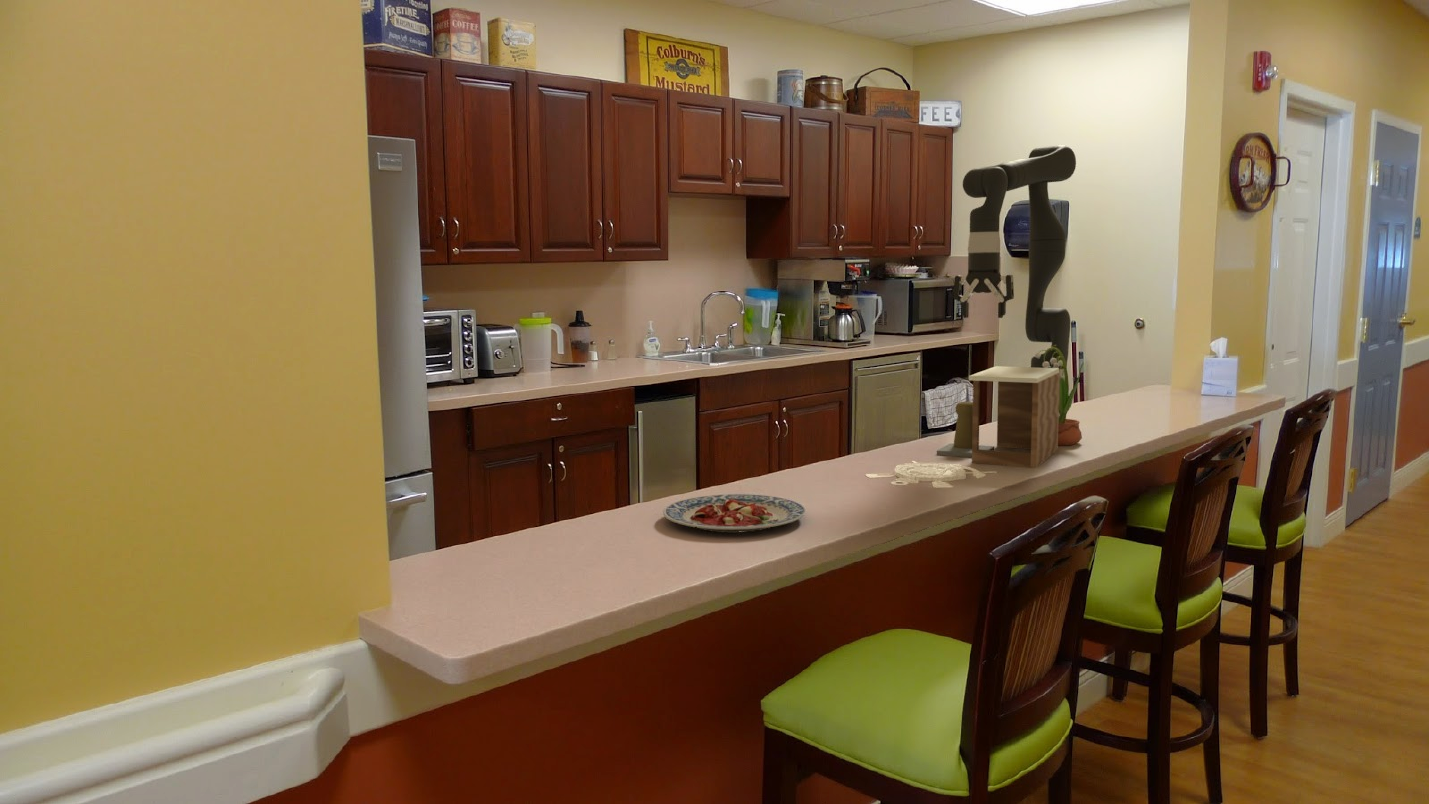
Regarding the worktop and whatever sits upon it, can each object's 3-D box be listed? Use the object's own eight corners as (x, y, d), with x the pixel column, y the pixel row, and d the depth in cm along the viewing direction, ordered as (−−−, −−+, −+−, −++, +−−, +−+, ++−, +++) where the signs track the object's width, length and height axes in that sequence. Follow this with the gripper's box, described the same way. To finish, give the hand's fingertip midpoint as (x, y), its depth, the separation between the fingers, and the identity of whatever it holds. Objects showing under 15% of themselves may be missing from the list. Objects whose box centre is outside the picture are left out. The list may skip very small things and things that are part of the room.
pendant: (1004, 472, 226) (1004, 466, 226) (940, 494, 206) (940, 487, 205) (919, 461, 240) (919, 455, 240) (852, 481, 220) (852, 474, 220)
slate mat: (950, 447, 255) (950, 443, 255) (994, 450, 250) (994, 446, 249) (936, 454, 245) (936, 450, 245) (982, 458, 240) (982, 453, 240)
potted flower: (1032, 445, 255) (1034, 345, 252) (1031, 439, 265) (1034, 342, 261) (1082, 447, 252) (1085, 346, 248) (1080, 440, 261) (1083, 343, 258)
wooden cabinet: (994, 445, 256) (995, 366, 253) (1057, 450, 249) (1059, 368, 246) (967, 462, 235) (968, 375, 233) (1036, 467, 228) (1038, 378, 225)
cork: (962, 443, 254) (962, 399, 253) (983, 446, 250) (984, 401, 249) (948, 446, 250) (948, 402, 249) (970, 449, 246) (970, 404, 245)
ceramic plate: (635, 520, 187) (635, 504, 187) (743, 499, 203) (743, 484, 203) (723, 549, 167) (723, 531, 167) (835, 523, 183) (835, 506, 183)
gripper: (1017, 250, 249) (1015, 317, 251) (959, 251, 256) (958, 316, 258) (1009, 250, 243) (1008, 318, 245) (950, 251, 250) (950, 318, 252)
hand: (983, 317), depth 252 cm, fingers open, 8 cm apart
